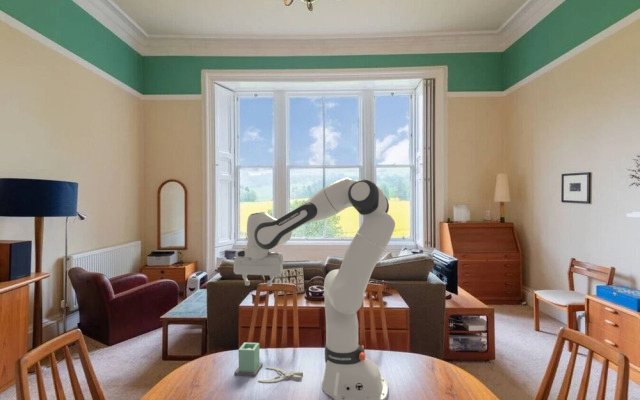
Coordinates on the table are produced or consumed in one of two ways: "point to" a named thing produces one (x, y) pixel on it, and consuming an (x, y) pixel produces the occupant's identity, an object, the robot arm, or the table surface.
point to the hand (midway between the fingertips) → (258, 285)
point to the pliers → (289, 375)
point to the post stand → (245, 373)
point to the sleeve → (249, 357)
